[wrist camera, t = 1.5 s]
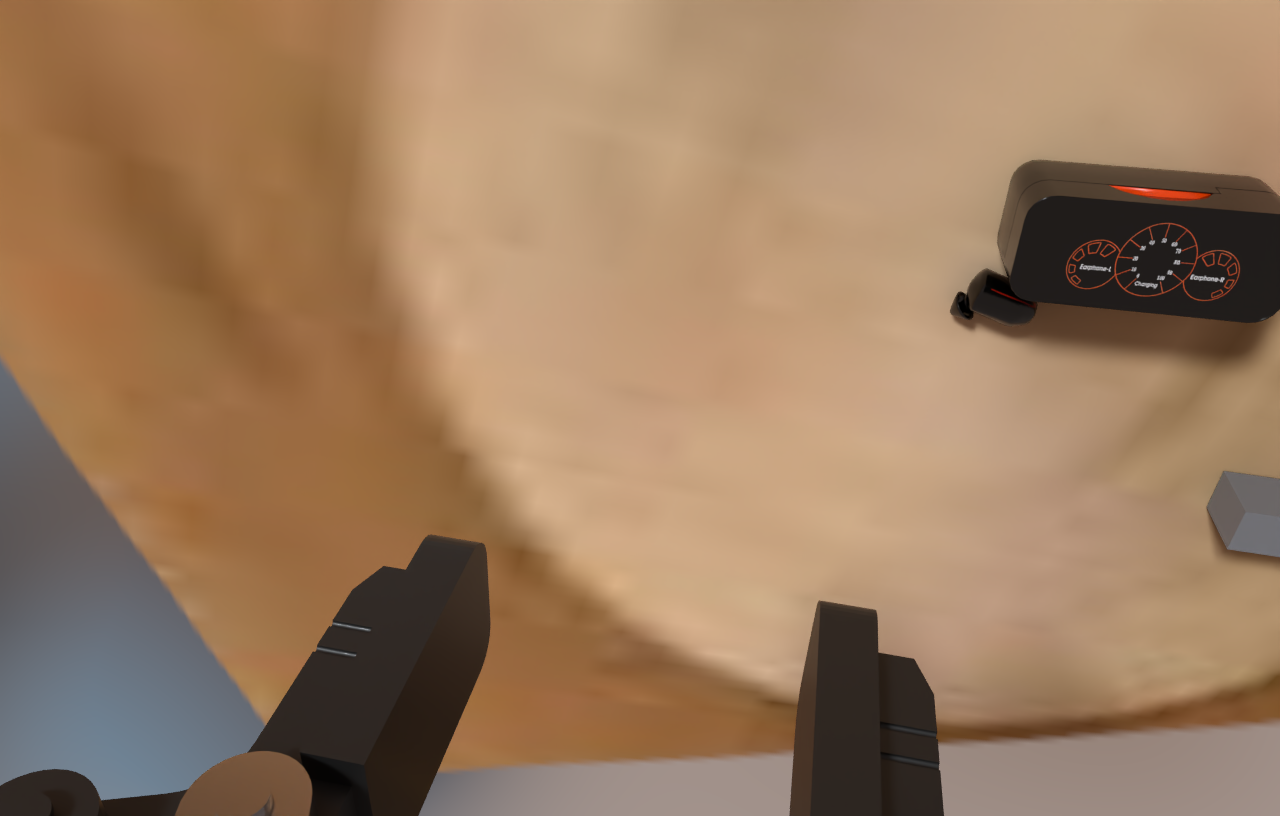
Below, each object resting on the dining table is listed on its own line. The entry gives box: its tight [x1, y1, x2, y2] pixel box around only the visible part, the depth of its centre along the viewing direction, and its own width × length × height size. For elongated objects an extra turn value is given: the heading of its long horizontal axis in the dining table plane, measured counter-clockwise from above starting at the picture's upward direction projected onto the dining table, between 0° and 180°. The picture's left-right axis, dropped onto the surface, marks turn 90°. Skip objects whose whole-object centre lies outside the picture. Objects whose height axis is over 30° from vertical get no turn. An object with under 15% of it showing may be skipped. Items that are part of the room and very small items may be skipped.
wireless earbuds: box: [950, 160, 1280, 326], centre depth 25 cm, size 5×7×3 cm, turn 89°
